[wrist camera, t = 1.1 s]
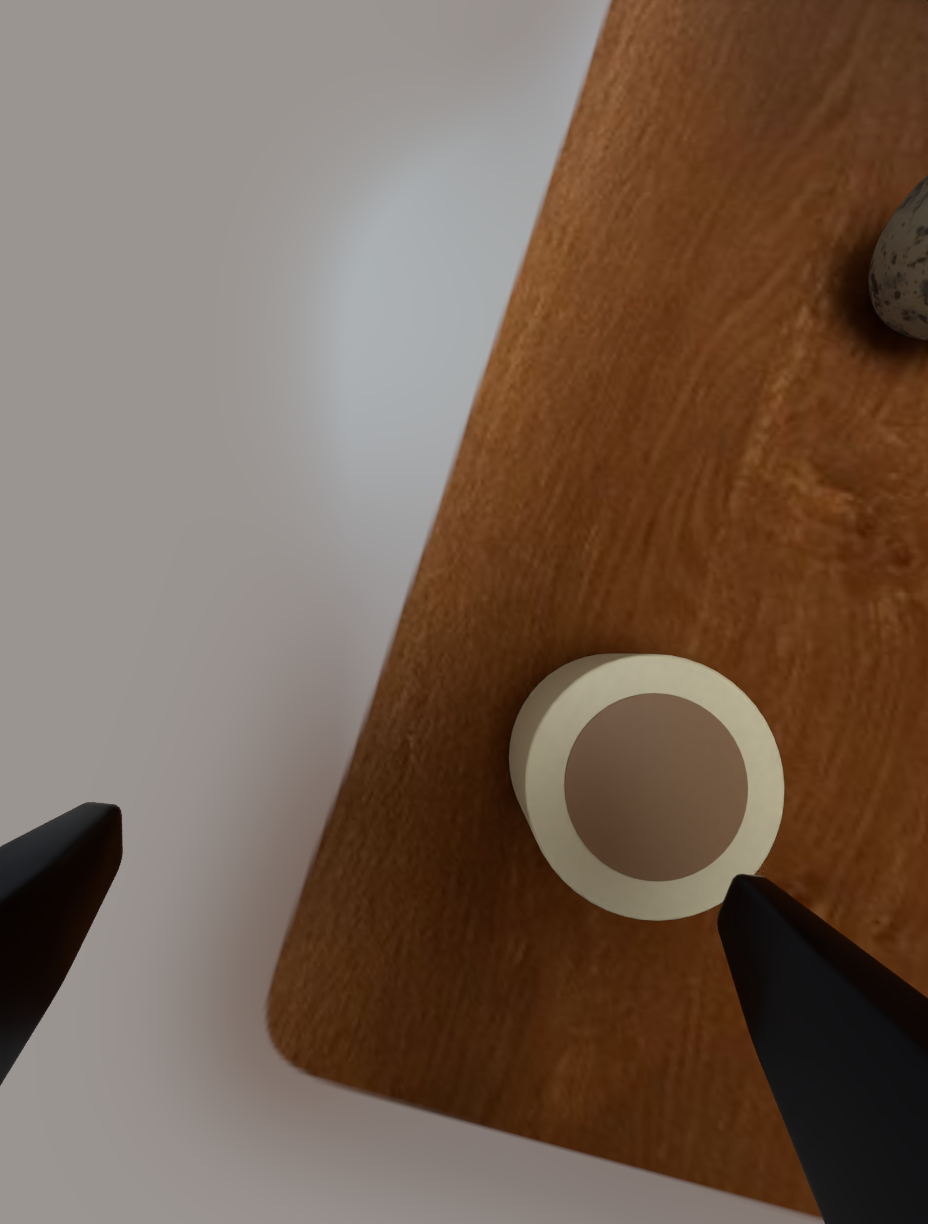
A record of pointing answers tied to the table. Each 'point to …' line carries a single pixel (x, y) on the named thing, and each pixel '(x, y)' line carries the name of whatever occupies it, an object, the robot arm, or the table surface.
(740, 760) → the tape
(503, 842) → the table surface
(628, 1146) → the table surface
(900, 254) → the decorative egg
